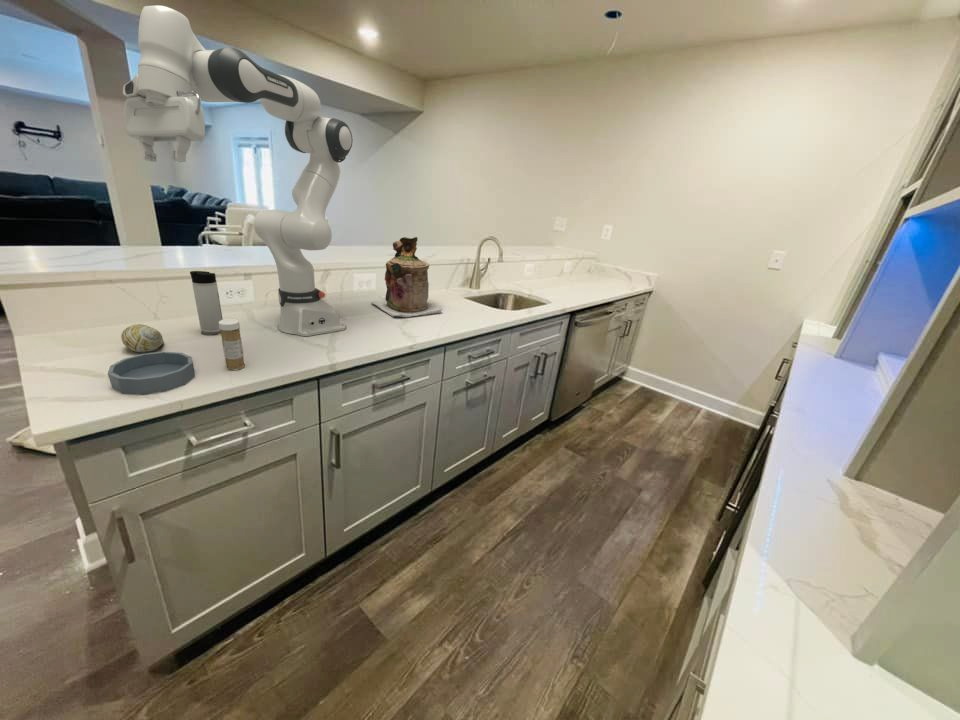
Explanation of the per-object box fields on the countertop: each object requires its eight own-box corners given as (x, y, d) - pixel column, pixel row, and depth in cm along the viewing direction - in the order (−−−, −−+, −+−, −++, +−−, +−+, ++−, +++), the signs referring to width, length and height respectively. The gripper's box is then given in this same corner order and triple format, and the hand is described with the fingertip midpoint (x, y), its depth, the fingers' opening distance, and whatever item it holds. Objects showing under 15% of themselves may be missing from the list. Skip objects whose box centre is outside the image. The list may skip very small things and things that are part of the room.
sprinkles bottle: (231, 363, 107) (223, 317, 101) (248, 364, 107) (242, 318, 102) (222, 370, 103) (214, 322, 97) (240, 371, 103) (233, 324, 98)
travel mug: (195, 332, 123) (183, 270, 115) (214, 327, 128) (204, 267, 120) (210, 337, 121) (199, 274, 113) (229, 331, 127) (219, 271, 119)
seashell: (144, 336, 114) (152, 310, 111) (171, 355, 115) (180, 329, 111) (107, 346, 105) (114, 317, 101) (136, 366, 105) (144, 339, 102)
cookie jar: (415, 299, 189) (419, 232, 176) (444, 314, 172) (450, 240, 159) (368, 303, 173) (368, 230, 161) (394, 320, 157) (397, 239, 144)
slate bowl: (194, 362, 105) (191, 348, 103) (195, 387, 93) (192, 372, 92) (117, 371, 96) (113, 356, 95) (108, 399, 85) (103, 384, 83)
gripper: (214, 99, 81) (212, 167, 83) (150, 103, 88) (150, 166, 89) (183, 81, 75) (181, 154, 77) (117, 87, 82) (117, 155, 84)
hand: (164, 161), depth 83 cm, fingers open, 8 cm apart
